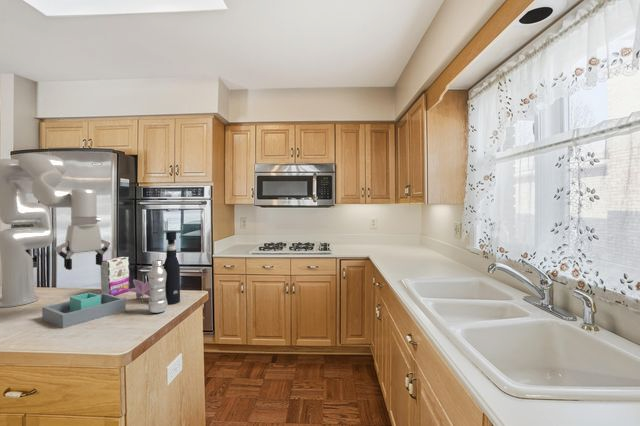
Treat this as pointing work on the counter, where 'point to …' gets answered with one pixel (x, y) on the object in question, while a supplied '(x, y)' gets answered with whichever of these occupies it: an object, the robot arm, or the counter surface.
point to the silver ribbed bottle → (157, 287)
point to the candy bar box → (115, 276)
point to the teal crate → (84, 301)
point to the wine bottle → (172, 271)
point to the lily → (140, 289)
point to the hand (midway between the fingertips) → (84, 266)
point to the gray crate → (82, 311)
